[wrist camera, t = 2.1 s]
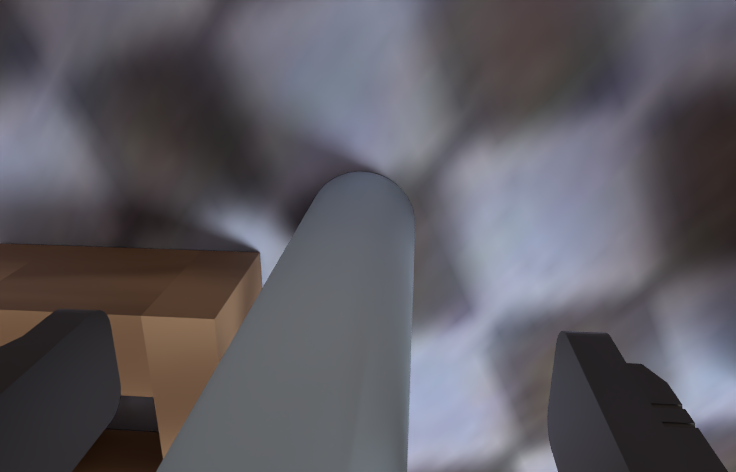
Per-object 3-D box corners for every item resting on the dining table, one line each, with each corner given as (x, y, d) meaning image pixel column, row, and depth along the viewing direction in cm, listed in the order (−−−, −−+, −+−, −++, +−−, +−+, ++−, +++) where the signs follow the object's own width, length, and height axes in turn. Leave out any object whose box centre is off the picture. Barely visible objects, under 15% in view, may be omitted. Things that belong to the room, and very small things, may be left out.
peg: (307, 170, 16) (47, 528, 5) (416, 172, 16) (404, 553, 5) (311, 269, 17) (104, 748, 6) (413, 273, 17) (397, 778, 6)
